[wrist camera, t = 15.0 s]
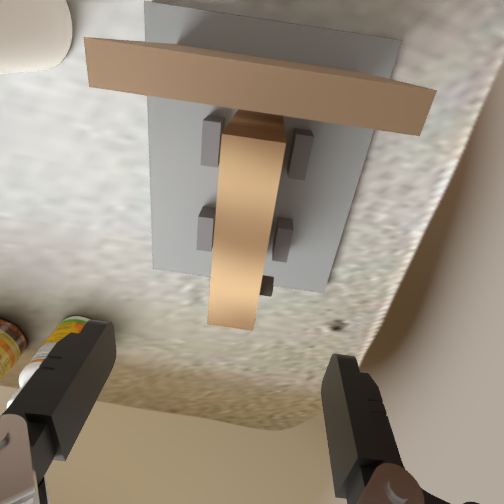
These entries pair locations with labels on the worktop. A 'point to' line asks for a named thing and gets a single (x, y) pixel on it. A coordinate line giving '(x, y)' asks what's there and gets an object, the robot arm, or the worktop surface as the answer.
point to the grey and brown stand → (259, 100)
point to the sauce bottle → (10, 346)
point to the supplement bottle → (49, 348)
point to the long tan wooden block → (244, 216)
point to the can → (33, 34)
